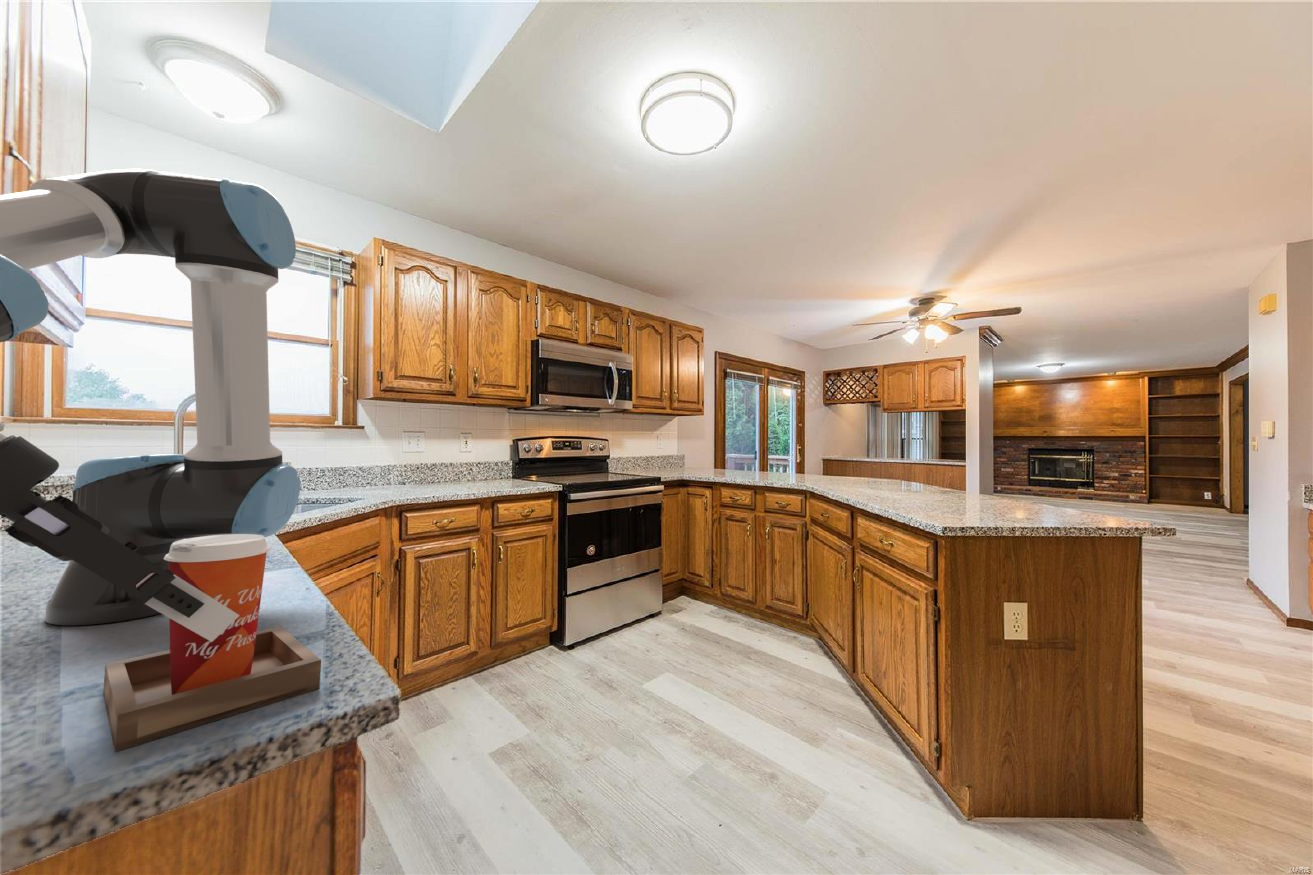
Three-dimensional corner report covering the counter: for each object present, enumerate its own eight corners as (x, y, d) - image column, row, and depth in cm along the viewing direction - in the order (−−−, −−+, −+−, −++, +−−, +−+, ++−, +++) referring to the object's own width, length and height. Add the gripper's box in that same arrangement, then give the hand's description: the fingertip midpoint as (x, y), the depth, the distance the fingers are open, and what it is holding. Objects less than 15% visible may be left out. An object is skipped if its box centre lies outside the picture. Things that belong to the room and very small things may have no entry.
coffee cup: (198, 712, 45) (208, 549, 45) (131, 700, 46) (141, 543, 47) (284, 672, 53) (292, 535, 53) (225, 663, 55) (232, 530, 55)
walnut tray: (103, 693, 49) (105, 663, 49) (279, 650, 60) (280, 626, 60) (115, 752, 40) (117, 714, 40) (319, 688, 51) (321, 659, 51)
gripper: (-112, 489, 41) (131, 620, 53) (-127, 517, 27) (204, 684, 39) (-2, 431, 46) (199, 563, 58) (32, 430, 32) (285, 603, 44)
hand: (201, 613), depth 49 cm, fingers open, 13 cm apart
